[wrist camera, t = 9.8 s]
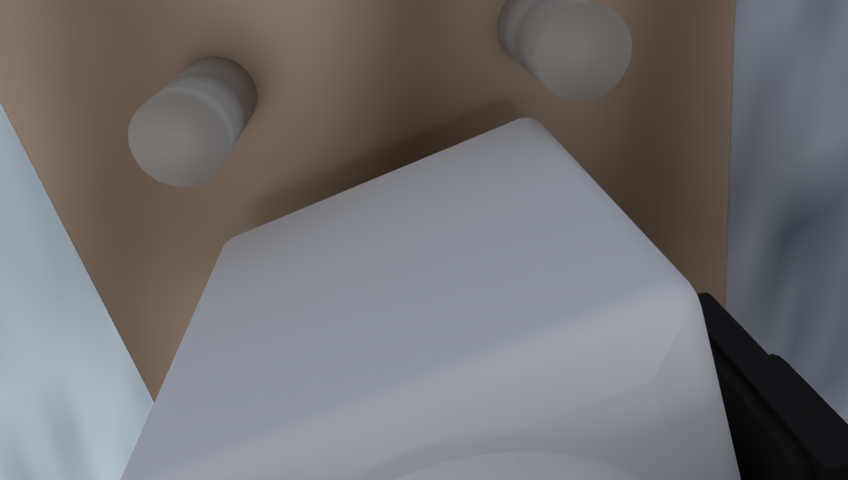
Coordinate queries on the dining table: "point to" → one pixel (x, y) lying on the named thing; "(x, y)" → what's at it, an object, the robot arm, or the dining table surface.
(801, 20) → the dining table surface
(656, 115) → the wooden peg board
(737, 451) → the robot arm
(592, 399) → the white capped block
